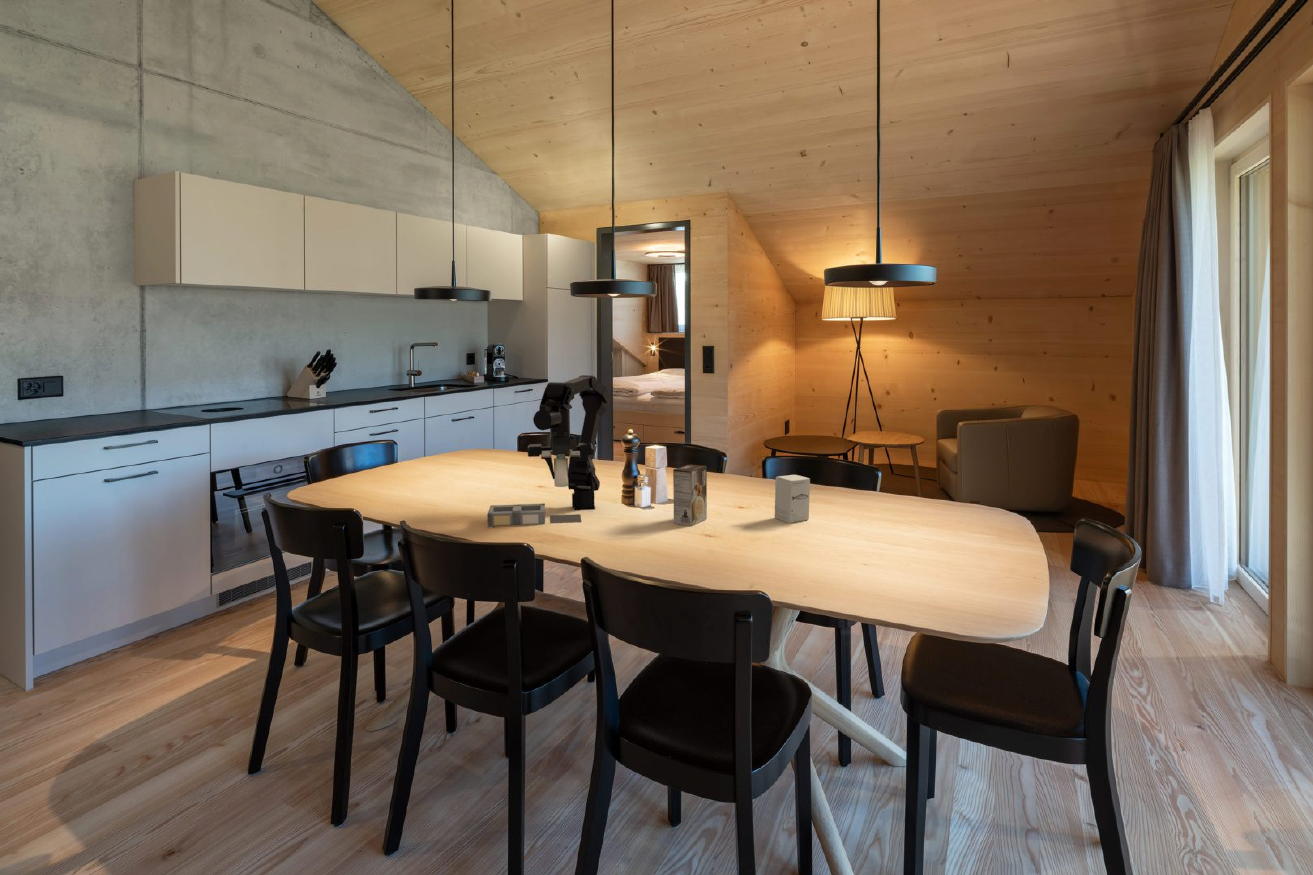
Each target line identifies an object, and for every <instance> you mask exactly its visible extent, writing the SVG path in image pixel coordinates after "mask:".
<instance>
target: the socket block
mask: <svg viewBox="0 0 1313 875" xmlns="http://www.w3.org/2000/svg"><path fill="white" fill-rule="evenodd" d="M487 511H488V512H487V515H486V516H487V528H488V529H489V528H492V529H493V528H496V527H506V526H508V527H509V526H510V527H511V526H531V525H545V524H546V503H525V504H524V503H523V504H520V503H519V504H494V505H493V504H492V505H490V506H489V509H488V510H487Z"/></svg>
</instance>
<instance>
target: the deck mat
mask: <svg viewBox="0 0 1313 875" xmlns="http://www.w3.org/2000/svg"><path fill="white" fill-rule="evenodd" d="M549 516H550V517H549V518H550V519H549V524H572V523H582V514H579V513H578V514H577V513H575V514H553V515H552V514H551V515H549Z"/></svg>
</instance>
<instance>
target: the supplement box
mask: <svg viewBox="0 0 1313 875" xmlns="http://www.w3.org/2000/svg"><path fill="white" fill-rule="evenodd" d="M810 487H811V478H809V477H806V476H802V475H798V474H789V475H779V476H776V477H775V487H774V488H775V489H774V492H775V493H774V518H775V519H777V520H780V521H782V522H785V523H788V524H792V523H798V522H803V521H809V519H810V493H811V492H810V491H811V489H810Z"/></svg>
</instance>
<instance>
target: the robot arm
mask: <svg viewBox="0 0 1313 875" xmlns="http://www.w3.org/2000/svg"><path fill="white" fill-rule="evenodd" d="M578 394H579V395H578ZM575 395H578V396H579V397H580V398H581V399H580V400H582V403H581V405H582V408H583V411H584V412H585V414H584V418H583V423H582V429H581V433H580V438H579V443H578V445H577V438H576V436H571V420H570V419H571V417H570V416H571V415H570V414H571V412H570V410H571V409H573V406H572V405H571V401H573V400H574V399H575ZM610 402H611V393H610V391H609V389H608V388H607V386H606V385H604V384H603V383H601V381H599V380H598V379H597V377H596V376H595V375H585V374H583V375H582V374H581V375H579V376H578V377H576V378H572V379H570V380H567V381H564V382H559V381H557V382H556V381H555V382H554V381H553V382H552V381H551V382H548V383H547V384H546V385H545V387H544V391H543V394H542V397H541V399H540V404H539V409H538V410H537V411H536V412H535V413H534V414H533V417H532V421H533V424H534V426H535V427H536V429H538V430H540V431H546V430H549V436H550V437H549V439H550V440H549V444H550V446H542V444H541V443H536V444H535V443H532V444H529V445H528V446H527V457H528V458H529V457H530V458H531V457H540V459H541V460H545V462H546V465H547V466H548V468H549V471H550V474H551V477H552V480H554V461H553V457H552V455H553V456H556V455H565V456H569V457H568V486H567V488H568V490H573V492H572V493H571V506H572V508H573V511H591V510H593V511H594V510H596V506H595V492H596V491H599V489H600V484H601V482H600V479H599V478H598V476H597V474H596V467H595V464H594V462H593V457H594V452H595V447H596V442H597V437H598V436H597V435H598V430H599V426H600V420H601V417H602V416H603V414H604V413H606V411H607V410H608V407H609V404H610Z"/></svg>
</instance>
